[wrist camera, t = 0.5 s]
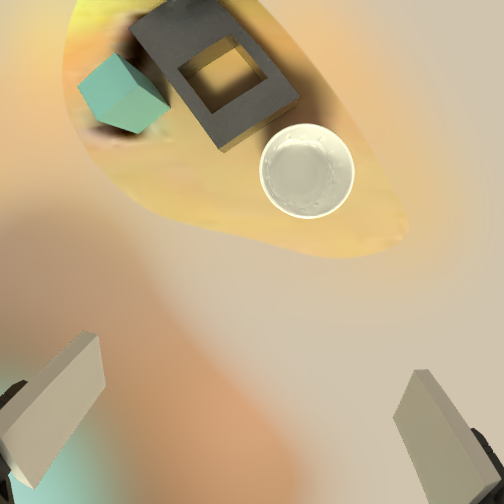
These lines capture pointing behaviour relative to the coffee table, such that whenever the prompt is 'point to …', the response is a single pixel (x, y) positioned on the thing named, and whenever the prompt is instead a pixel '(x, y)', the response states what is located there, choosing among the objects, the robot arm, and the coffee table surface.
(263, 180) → the white cup
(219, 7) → the grey slotted board
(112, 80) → the teal block
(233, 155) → the coffee table surface
